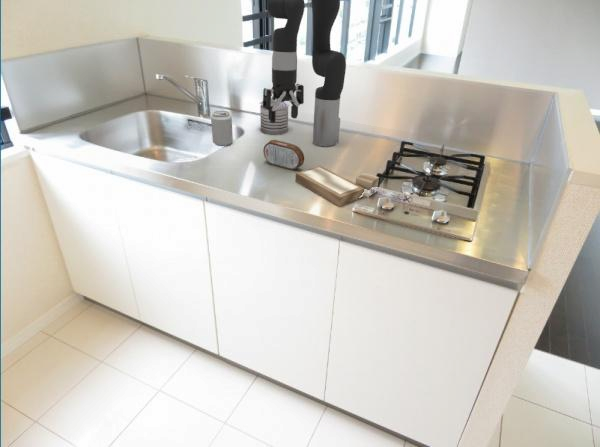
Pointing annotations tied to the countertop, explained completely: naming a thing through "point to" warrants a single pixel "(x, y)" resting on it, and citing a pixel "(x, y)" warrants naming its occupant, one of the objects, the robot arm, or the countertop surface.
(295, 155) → the tin
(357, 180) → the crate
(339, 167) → the countertop surface
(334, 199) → the block
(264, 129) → the can
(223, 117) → the can
